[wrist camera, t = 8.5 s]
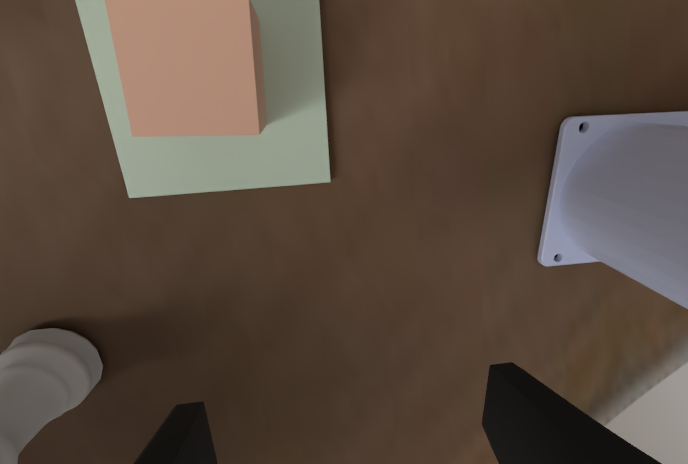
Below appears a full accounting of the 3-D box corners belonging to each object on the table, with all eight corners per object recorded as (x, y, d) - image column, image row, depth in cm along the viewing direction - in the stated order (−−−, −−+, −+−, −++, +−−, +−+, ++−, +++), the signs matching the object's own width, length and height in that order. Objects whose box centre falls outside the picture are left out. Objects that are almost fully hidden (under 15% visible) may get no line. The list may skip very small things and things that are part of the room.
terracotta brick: (259, 20, 14) (248, -5, 11) (267, 124, 16) (259, 134, 12) (152, 17, 14) (102, -10, 10) (170, 126, 15) (132, 136, 12)
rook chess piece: (0, 375, 19) (-185, 556, 12) (26, 309, 18) (-161, 462, 11) (90, 401, 20) (-24, 579, 13) (119, 341, 19) (13, 498, 12)
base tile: (314, -39, 15) (316, -50, 14) (328, 176, 18) (330, 182, 17) (80, -37, 14) (62, -47, 13) (139, 191, 17) (129, 198, 16)
